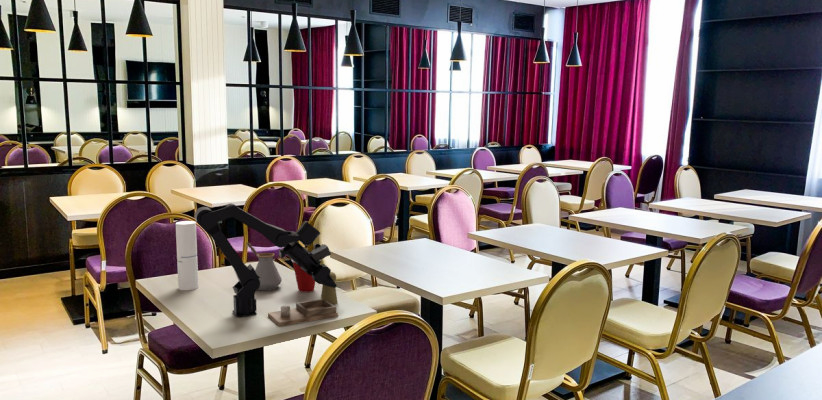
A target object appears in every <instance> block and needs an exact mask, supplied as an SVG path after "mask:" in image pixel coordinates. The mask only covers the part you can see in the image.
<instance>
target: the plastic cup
mask: <svg viewBox="0 0 822 400" xmlns="http://www.w3.org/2000/svg"><path fill="white" fill-rule="evenodd" d="M321 260H322V259H321ZM321 260H320V261H321ZM291 262H292V265H293V268H294V269H293V270H294V275H295V280H296V284H297V289H298V292H301V293H311V292H314V290H315V288H316V286H315V285H316V281H315V280H313V279H312V276H311V275H308V274H307V273H306V272H305V271H303V270H302V269H301V267H300V266H299V265H297V264H296V263H295V262H294V261H293V260H292V259H291ZM321 262H322V261H321Z"/></svg>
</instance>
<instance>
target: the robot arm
mask: <svg viewBox="0 0 822 400" xmlns="http://www.w3.org/2000/svg"><path fill="white" fill-rule="evenodd" d="M193 216H194V220H195V222H196V224H198V225H199V226H200V227H201V229H203V230H204V231H205V232H206V234H208V235H209V236H210V237H211V238H212V240H214V241H213V242H215V244H216V245H217V247H218V248H219V250H220V251H221V253H222V254H223V255H224V257H225V258H226V259H227V261H228V263H229V264H230V265H231V267H232V268H233V271H234V273H235V275H236V278H237V280H238V281H237V282H236V283H235V284H234V285H233V286H232V289H233V291H234V293H235V294H234V295H233V297H232V298H233V310H232V314H233V315H234V316H236V318H242V317H249V316H254V315H255V316H256V315H257V298H255V297H256V296H255V295H256V294H255V293H256V292H257V291H259V290H258V289H259V287H260V280H259V279H258V278H260V276H259V275H258V274H257V273H256V272H255V268H254V267H253V265H252V264H251V263H250V264H248V265H246V263H244V261H243V260H242V259H241V257H240V256H239V254H238V252H237V251H236V250H235V248H234V247H233V246H232V244H231V243H230V241H229V240H228V238H227V236H226V235H225V234H224V232H223V230H222V228H221V225H220V223H219V222H221V221H225V220H227V219H231V218H233V219H235V220H236V221H238V222H240V223H242V224H244V225H245V226H247V227H249V228H250V229H253V230H254V231H256V232H258V233H259V234H261V235H262V236H264V237H265V238H266V239H267V240H268V241H270V242H271V243H272V244H273V245H274V246H276V247H277V248H278V256H279V257H280V258H281V259H284V257H285V256H287V257H288V258H289V259H291V261H292V260H293V261H294V262H295V263H296V264H297V265H299V266H300V267H301V269H302V270H303V271H305V272H306V273H307V274H308V275H311V276H312V279H313V280H315V283H317V284H318V285H322V286H323V285H326V286H329V287H333V288H336V289H337V286H338V285H337V284H336V281H335V282H334V281H333V279H332V278H331V276H330V272H331V271H332V270H331V269H330V268H329V267H328V266H327V265H326V264H324V263H322V261H320V260H323V259H325V258H326V257H329V256H331V255H332V253H331V250H330V249H329V246H328V245H327V244H325V243H324V244H320V243H318V242H316V243H314V242H315V241H316V240H317V238H318V237H319V236H321V234H322V233H321V232H320V231H319V230H318V229H317V228H316V227H315V226H313V225H312V224H311V223H309V222H308V221H306V220H304V222H302V224H301V226H299V228H298V229H297V230H296V231H293V230H285V229H284V228H281V227H279V226H276V225H273V224H270V223H267V222H264V221H262V220H261V219H259V218H258V217H256V216H254V215H253V214H251V213H249V212H247V211H246V210H244V209H242V208H240V207H239V206H237V205H236V204H235V203H232V202H231V203H227V204H223V205H218V206H212V207H207V206H201V207H198V208H197V209H196V210H195V212H194V215H193ZM300 243H301V244H300ZM313 243H314V244H313ZM312 244H313V249H312V250H311V251H309V250H308V249H306V248H305V247H306V246H311V245H312ZM304 246H305V247H304ZM321 263H322V264H321Z"/></svg>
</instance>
